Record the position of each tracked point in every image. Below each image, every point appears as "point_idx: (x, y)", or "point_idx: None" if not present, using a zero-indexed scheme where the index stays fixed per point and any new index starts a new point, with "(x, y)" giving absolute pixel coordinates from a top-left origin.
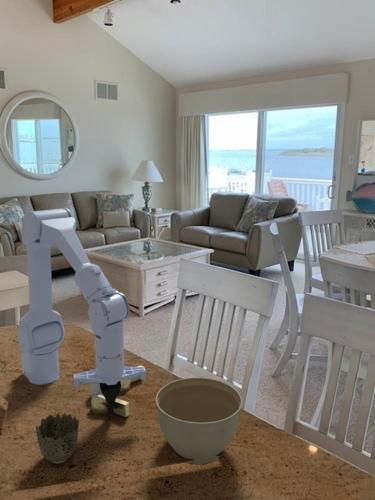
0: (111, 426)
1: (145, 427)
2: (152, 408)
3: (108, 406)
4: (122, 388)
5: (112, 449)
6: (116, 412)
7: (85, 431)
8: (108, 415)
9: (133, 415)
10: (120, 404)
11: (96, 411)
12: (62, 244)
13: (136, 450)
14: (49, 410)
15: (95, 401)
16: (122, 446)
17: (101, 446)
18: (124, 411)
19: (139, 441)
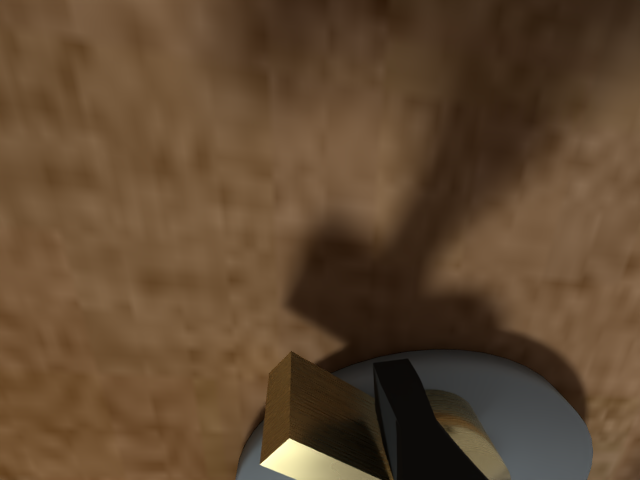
0: (372, 305)
1: (169, 280)
2: (154, 425)
3: (440, 425)
4: None
5: (382, 65)
6: (349, 391)
7: (515, 276)
8: (408, 360)
9: (251, 381)
10: (329, 447)
11: (462, 404)
12: None
13: (200, 17)
14: (627, 427)
15: (488, 475)
16: (310, 92)
17: (452, 115)
18: (297, 388)
19: (190, 136)
